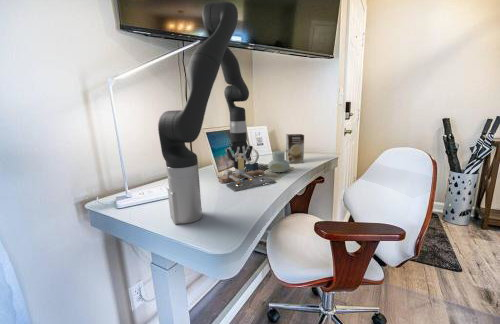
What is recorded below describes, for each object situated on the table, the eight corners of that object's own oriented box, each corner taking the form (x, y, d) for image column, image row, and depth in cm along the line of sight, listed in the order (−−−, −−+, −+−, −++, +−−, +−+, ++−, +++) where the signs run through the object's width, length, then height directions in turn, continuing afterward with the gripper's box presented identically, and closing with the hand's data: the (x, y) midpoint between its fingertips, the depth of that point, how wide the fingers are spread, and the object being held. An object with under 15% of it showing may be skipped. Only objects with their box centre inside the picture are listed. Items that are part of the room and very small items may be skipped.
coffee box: (288, 163, 146) (288, 135, 142) (285, 161, 152) (285, 134, 149) (303, 163, 146) (304, 135, 143) (301, 160, 153) (301, 133, 149)
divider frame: (230, 189, 107) (230, 177, 106) (218, 181, 118) (218, 170, 117) (274, 180, 117) (274, 169, 116) (259, 173, 128) (259, 163, 127)
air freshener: (290, 169, 133) (290, 150, 131) (288, 174, 126) (288, 154, 123) (270, 169, 137) (269, 150, 134) (266, 173, 129) (266, 153, 127)
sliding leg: (248, 182, 110) (247, 162, 108) (235, 175, 122) (234, 157, 120) (254, 180, 112) (254, 161, 110) (241, 174, 123) (240, 156, 121)
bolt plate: (234, 191, 104) (234, 188, 103) (226, 186, 111) (226, 183, 110) (275, 182, 113) (275, 180, 113) (265, 178, 120) (265, 176, 120)
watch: (248, 167, 142) (247, 147, 139) (261, 168, 137) (260, 148, 135) (242, 169, 137) (241, 149, 134) (255, 171, 133) (255, 150, 130)
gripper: (227, 133, 109) (229, 172, 113) (255, 130, 116) (257, 167, 120) (220, 131, 116) (222, 168, 120) (248, 129, 122) (249, 164, 126)
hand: (239, 168), depth 120 cm, fingers closed on sliding leg, 3 cm apart
